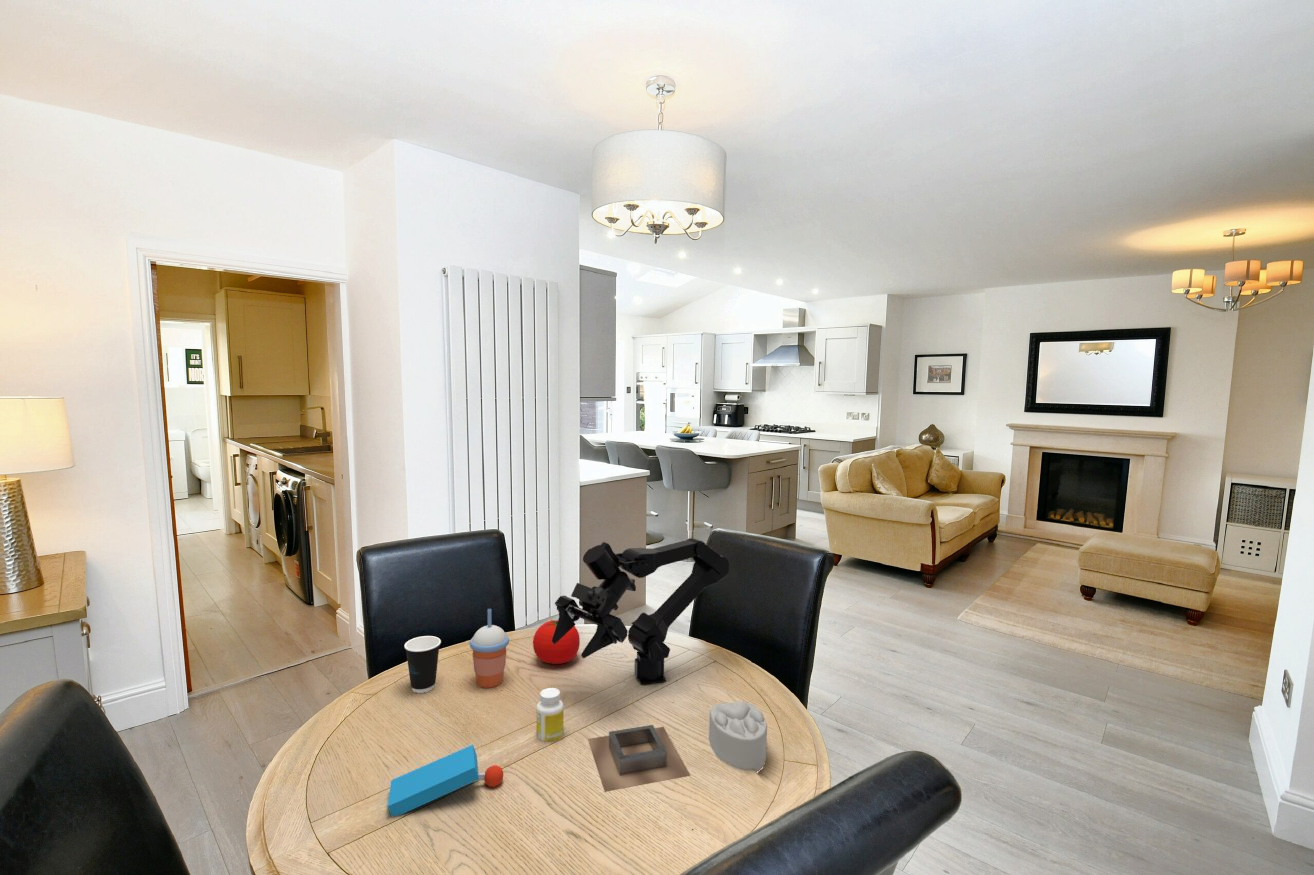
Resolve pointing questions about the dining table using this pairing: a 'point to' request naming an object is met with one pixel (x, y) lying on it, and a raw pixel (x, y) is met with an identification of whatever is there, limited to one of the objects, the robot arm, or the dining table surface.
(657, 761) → the metal collar
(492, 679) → the cup with straw
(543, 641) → the tomato
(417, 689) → the dixie cup
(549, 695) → the supplement bottle
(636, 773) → the walnut board
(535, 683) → the dining table surface
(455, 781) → the lever
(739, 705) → the lumpy-topped squat cylinder
